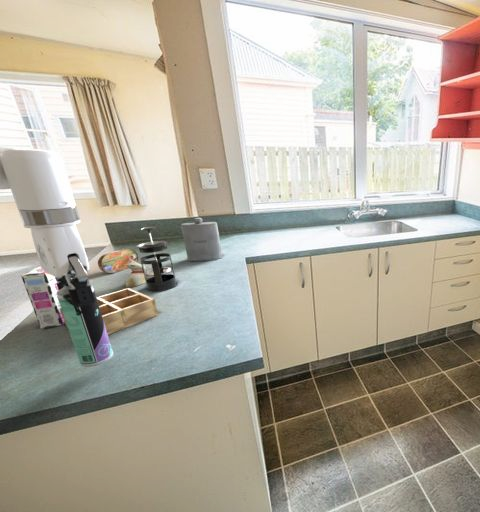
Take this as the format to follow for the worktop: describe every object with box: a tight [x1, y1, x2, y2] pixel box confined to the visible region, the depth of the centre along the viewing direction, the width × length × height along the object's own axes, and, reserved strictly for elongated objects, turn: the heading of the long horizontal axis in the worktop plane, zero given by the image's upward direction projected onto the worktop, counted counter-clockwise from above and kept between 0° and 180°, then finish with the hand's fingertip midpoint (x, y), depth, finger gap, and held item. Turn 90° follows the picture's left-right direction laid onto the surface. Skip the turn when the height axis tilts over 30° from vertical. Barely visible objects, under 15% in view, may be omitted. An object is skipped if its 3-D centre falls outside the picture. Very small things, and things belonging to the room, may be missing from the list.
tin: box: [97, 248, 139, 274], centre depth 128 cm, size 15×3×8 cm, turn 168°
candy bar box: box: [20, 264, 65, 330], centre depth 87 cm, size 11×5×16 cm, turn 27°
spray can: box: [57, 276, 114, 368], centre depth 64 cm, size 6×6×20 cm
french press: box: [136, 226, 178, 293], centre depth 108 cm, size 12×9×23 cm
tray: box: [60, 287, 159, 336], centre depth 88 cm, size 16×16×6 cm
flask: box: [180, 217, 223, 262], centre depth 141 cm, size 15×6×20 cm, turn 107°
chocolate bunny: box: [125, 260, 147, 289], centre depth 113 cm, size 6×8×10 cm
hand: (78, 300), depth 63 cm, fingers closed on spray can, 5 cm apart
